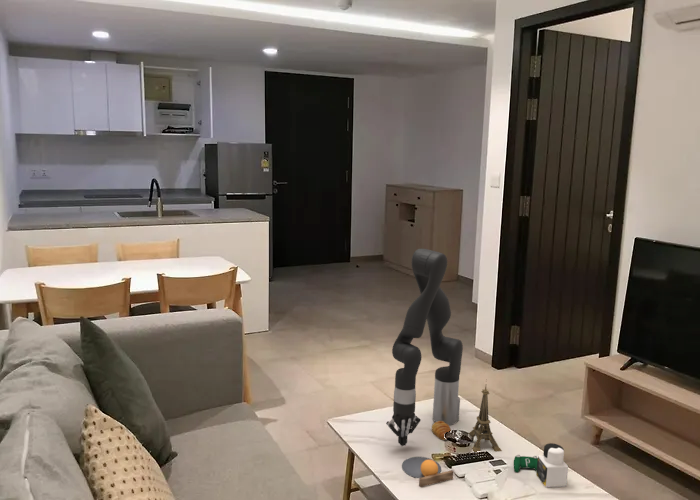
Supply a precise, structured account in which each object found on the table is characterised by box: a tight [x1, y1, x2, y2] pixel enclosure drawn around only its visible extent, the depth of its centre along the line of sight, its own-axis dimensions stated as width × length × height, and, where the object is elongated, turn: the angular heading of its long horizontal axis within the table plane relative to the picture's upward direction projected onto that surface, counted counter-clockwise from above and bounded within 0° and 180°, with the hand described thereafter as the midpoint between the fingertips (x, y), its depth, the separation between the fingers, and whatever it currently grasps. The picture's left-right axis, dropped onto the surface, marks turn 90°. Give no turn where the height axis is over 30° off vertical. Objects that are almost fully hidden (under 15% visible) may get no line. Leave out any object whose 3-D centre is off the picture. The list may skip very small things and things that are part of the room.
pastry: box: [431, 421, 452, 441], centre depth 218 cm, size 9×7×4 cm
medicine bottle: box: [536, 442, 569, 488], centre depth 189 cm, size 7×7×12 cm
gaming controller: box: [513, 454, 538, 473], centre depth 196 cm, size 9×4×6 cm
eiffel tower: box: [468, 379, 503, 453], centre depth 209 cm, size 11×11×25 cm
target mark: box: [401, 456, 442, 479], centre depth 196 cm, size 13×13×1 cm
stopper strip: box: [418, 469, 454, 488], centre depth 187 cm, size 12×1×2 cm, turn 114°
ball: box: [421, 459, 438, 477], centre depth 190 cm, size 6×6×6 cm
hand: (402, 444), depth 207 cm, fingers closed
